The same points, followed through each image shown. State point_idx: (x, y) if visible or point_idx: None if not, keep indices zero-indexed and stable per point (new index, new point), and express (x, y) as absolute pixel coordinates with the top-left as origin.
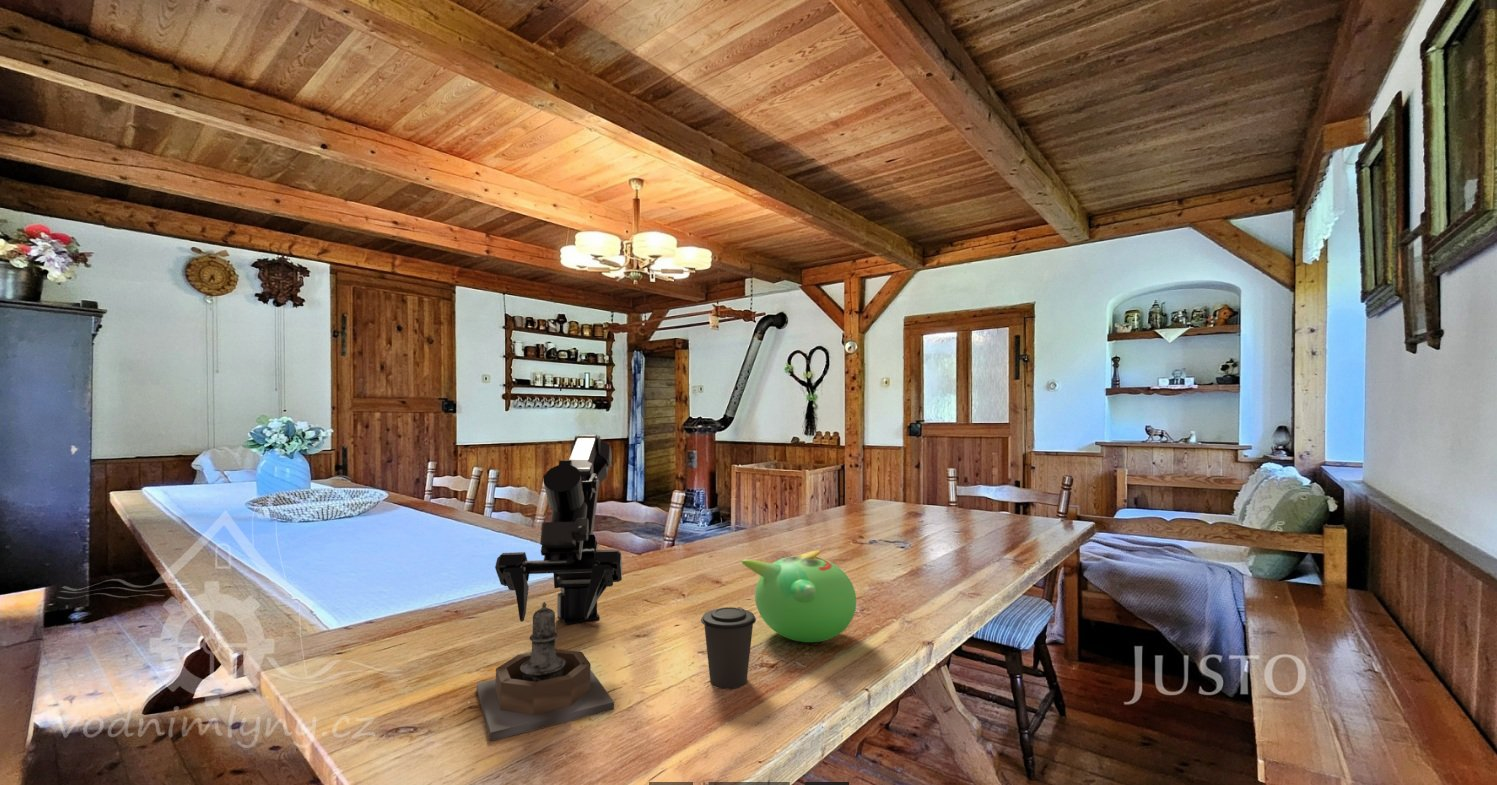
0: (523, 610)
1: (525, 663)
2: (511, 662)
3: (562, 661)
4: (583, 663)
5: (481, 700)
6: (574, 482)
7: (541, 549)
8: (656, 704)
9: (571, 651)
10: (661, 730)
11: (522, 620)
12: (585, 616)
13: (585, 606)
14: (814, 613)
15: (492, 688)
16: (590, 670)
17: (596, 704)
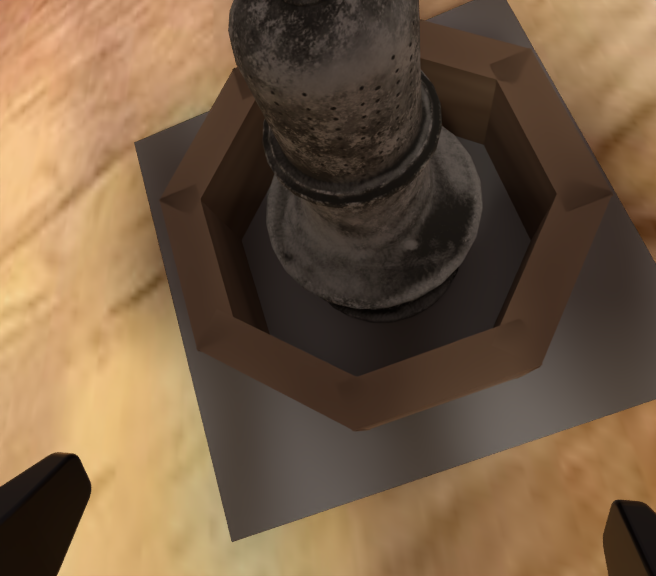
0: (643, 558)
1: (462, 213)
2: (549, 257)
3: (279, 216)
4: (187, 200)
5: (621, 206)
6: None
7: None
8: (29, 176)
9: (246, 361)
10: (45, 45)
11: (610, 518)
12: (72, 453)
13: (16, 504)
14: None
15: (612, 302)
16: (204, 415)
17: (188, 131)
